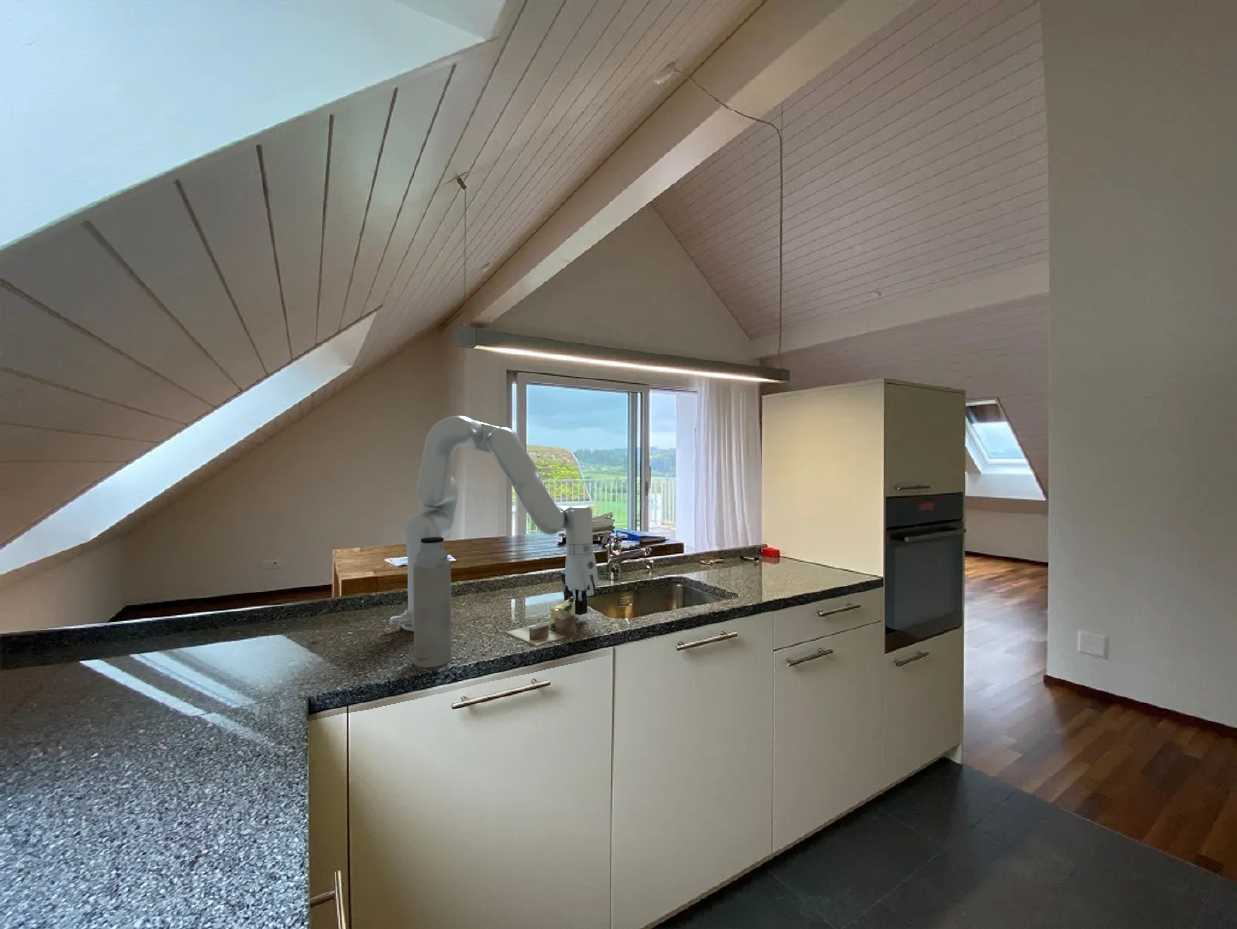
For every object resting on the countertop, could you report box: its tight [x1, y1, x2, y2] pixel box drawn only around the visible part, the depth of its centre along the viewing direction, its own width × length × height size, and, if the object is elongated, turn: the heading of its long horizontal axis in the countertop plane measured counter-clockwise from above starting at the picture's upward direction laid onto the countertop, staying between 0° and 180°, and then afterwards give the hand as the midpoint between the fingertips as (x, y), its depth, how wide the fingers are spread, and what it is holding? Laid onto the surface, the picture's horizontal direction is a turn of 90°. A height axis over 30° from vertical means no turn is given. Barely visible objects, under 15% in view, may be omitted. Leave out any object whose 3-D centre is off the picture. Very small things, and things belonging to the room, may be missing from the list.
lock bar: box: [549, 597, 579, 628], centre depth 143 cm, size 13×3×5 cm, turn 160°
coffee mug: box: [560, 569, 573, 602], centre depth 166 cm, size 12×9×10 cm
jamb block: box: [554, 614, 576, 637], centre depth 134 cm, size 4×3×4 cm
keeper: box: [529, 623, 549, 641], centre depth 129 cm, size 5×2×3 cm, turn 134°
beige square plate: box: [505, 624, 567, 647], centre depth 134 cm, size 14×14×1 cm
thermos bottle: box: [413, 537, 452, 669], centre depth 115 cm, size 8×8×28 cm
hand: (581, 613), depth 144 cm, fingers closed
